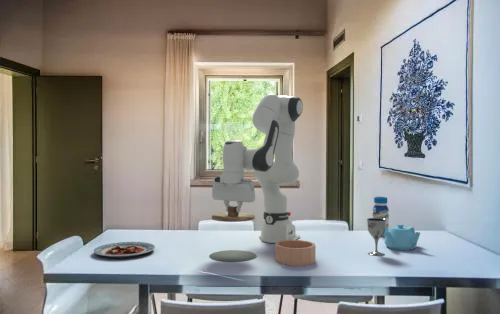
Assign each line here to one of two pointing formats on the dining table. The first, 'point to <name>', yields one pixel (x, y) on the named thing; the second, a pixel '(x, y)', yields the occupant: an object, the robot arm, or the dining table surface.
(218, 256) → the tray
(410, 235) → the teapot
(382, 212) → the beverage bottle
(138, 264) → the dining table surface
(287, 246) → the bowl
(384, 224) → the wine glass
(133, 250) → the ceramic plate
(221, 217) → the lid
